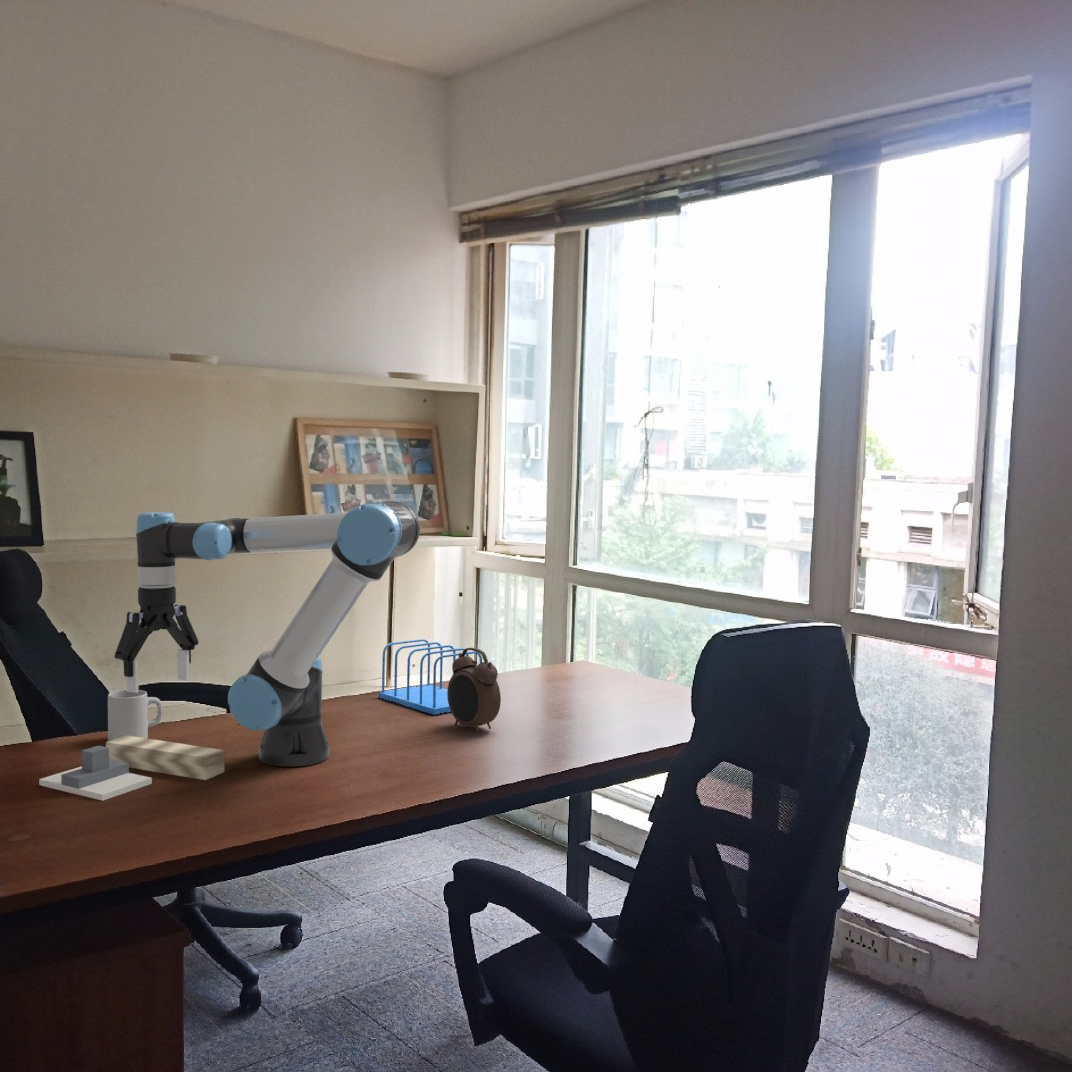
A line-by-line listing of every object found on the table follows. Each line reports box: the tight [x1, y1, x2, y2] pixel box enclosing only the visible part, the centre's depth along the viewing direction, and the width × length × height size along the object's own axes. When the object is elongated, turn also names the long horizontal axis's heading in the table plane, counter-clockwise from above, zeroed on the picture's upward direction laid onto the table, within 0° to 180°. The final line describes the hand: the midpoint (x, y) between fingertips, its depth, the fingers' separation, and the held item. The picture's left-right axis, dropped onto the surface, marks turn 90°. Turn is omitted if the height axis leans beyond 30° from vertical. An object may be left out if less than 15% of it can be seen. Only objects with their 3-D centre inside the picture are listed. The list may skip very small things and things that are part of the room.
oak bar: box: [105, 735, 225, 781], centre depth 223 cm, size 26×6×5 cm, turn 68°
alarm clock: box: [447, 647, 502, 734], centre depth 258 cm, size 15×7×20 cm, turn 43°
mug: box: [107, 689, 163, 742], centre depth 243 cm, size 12×8×11 cm
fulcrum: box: [38, 745, 153, 801], centre depth 211 cm, size 18×12×7 cm, turn 62°
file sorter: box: [378, 638, 483, 716], centre depth 285 cm, size 25×17×15 cm
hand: (158, 685), depth 223 cm, fingers open, 13 cm apart
